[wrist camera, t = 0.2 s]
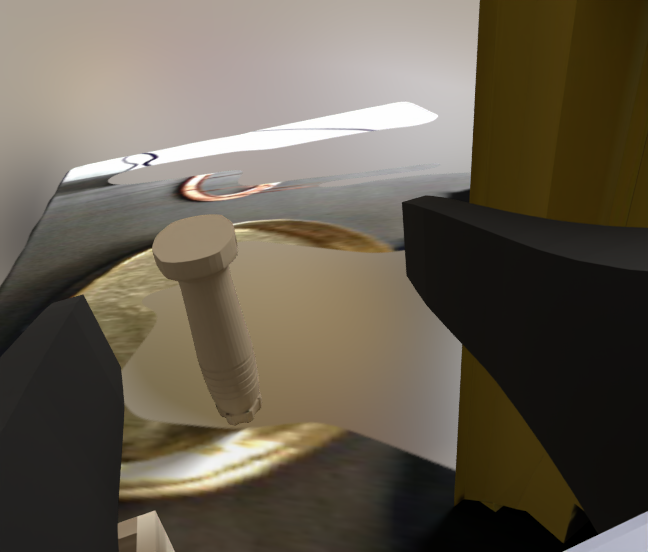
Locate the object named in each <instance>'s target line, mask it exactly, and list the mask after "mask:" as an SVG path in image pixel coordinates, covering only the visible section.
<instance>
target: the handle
mask: <svg viewBox="0 0 648 552" xmlns="http://www.w3.org/2000/svg"><path fill="white" fill-rule="evenodd" d="M152 251H153V255H154V258H155V261H156V264H157V266H158V268H159V269H160V271H161V272H162V274H163V275H164V276H165V277H166V278H168V279H171V280H175V281H178V282H179V285H180V288H181V291H182V296H183V300H184V303H185V308H186V312H187V316H188V320H189V324H190V328H191V332H192V337H193V341H194V346H195V350H196V354H197V358H198V362H199V365H200V368H201V371H202V374H203V377H204V380H205V382H206V384H207V387H208V390H209V392H210V394H211V396H212V398H213V400H214V402H215V404H216V407H217V409H218V412H219V413H220V415H221V416H222V417H225V418H227V421H228V423H229V424H231V425H237V424H239V423H243V422H247V423H249V422H251V421H252V420H253V419H254V415H255V413H256V412H257V411H258V410H260V408H261V406H262V399H261V393H260V392H259V377H258V371H257V365H256V359H255V354H254V350H253V345H252V341H251V338H250V335H249V332H248V329H247V325H246V323H245V319H244V316H243V313H242V310H241V306H240V303H239V300H238V297H237V293H236V290H235V286H234V283H233V280H232V277H231V272H230V268H229V264H230V263H231V262H232V261H233V260H234V259H235V258H236V256H237V253H238V249H237V240H236V235H235V230H234V227H233V224H232V222H231V221H230V220H228V219H227V218H225V217H223V216H222V215H213V214H211V215H200V216H194V217H189V218H185V219H181V220H179V221H176V222H173V223H171V224H170V225H168V226H167V227H166V228H165V229H164V230H162V231H161V232H160V233H159V234H158V235H157V236H156V238H155V240H154V243H153V247H152Z"/></svg>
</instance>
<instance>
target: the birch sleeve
mask: <svg viewBox="0 0 648 552" xmlns="http://www.w3.org/2000/svg"><path fill="white" fill-rule="evenodd" d="M118 545H119V552H175V551H174V549H173V547H172V545H171V543H170V541H169V539H168V536H167V534H166V532H165V530H164V528H163V526H162V524H161V522H160V519H159V517H158V515H157V513H156V511H153V512H150V513H147V514H144V515H141V516H138V517H135V518H132V519H129V520H126V521H123V522H120V523H118Z"/></svg>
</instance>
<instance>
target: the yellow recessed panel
mask: <svg viewBox="0 0 648 552" xmlns="http://www.w3.org/2000/svg"><path fill="white" fill-rule="evenodd" d="M477 49H478V50H477V67H476V86H475V107H474V126H473V146H472V166H471V184H470V203H472V204H476V205H481V206H485V207H490V208H494V209H499V210H504V211H509V212H514V213H519V214H524V215H529V216H535V217H541V218H547V219H553V220H560V221H567V222H575V223H585V224H595V225H605V226H620V227H644V228H648V0H480V9H479V28H478V48H477ZM458 421H459V422H458V441H457V459H456V478H455V498H454V506H455V505H457V504H458V503H459V502H461V501H462V500H464V499H468V500H475V501H480V502H481V503H483V504H484V505H486V506H487V507H489V508H490V509H492V510H493V511H495V512H496V511H497V510H499V509H500V508H501V507H503V506H507V507H511V508H515V509H519V510H523V511H527V512H528V513H529V514H530V515H531V516H533V517H534V518H535V519H536V520H537V521H538V522H539V523H541V524H542V525H543V526H544V527H545V528H546V529H547V530H549V531H550V532H551V533H552V534H553V535H554V536H556V537H557V538H558V539H559V540H560V541H561V542H562V543H565V542H566V541H567V540H568V539H569V538H570V537H571V536H573V535H574V534H575V533H576V532H577V531H578V530H579V529H580V528H582V527H583V526H584V525H585V524H586V523H587V522H588V521H589V518H588V517H587V515H586V513H585V512H584V510H583V508H582V507H581V505H580V503H579V502H578V500H577V498H576V497H575V495H574V494H573V492H572V490H571V489H570V487H569V486H568V484H567V483H566V481H565V480H564V478H563V477H562V475H561V474H560V472H559V470H558V469H557V467H556V466H555V464H554V463H553V461H552V460H551V458H550V457H549V455H548V454H547V452H546V450H545V449H544V448H543V446H542V445H541V443H540V442H539V440H538V439H537V438H536V436H535V435H534V433H533V432H532V430H531V429H530V427H529V426H528V425H527V423H526V422H525V420H524V419H523V417H522V416H521V415H520V413H519V412H518V411H517V409H516V408H515V406H514V405H513V404H512V402H511V401H510V400H509V398H508V397H507V396H506V394H505V393H504V392H503V390H502V389H501V388H500V386H499V385H498V384H497V382H496V381H495V380H494V379H493V377H492V376H491V375H490V374H489V373H488V372H487V370H486V369H485V368H484V367H483V366H482V365H481V364H480V363H479V361H478V360H477V359H476V358H475V357H474V356H473V355H472V354H471V353H470V352H469V351H468V350H467V349H466V348H465V346H464V345H463V344H462V362H461V381H460V402H459V420H458Z"/></svg>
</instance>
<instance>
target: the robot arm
mask: <svg viewBox="0 0 648 552" xmlns="http://www.w3.org/2000/svg"><path fill="white" fill-rule="evenodd" d="M402 210H403V226H404V242H405V257H406V272H407V277H408V278H409V280H410V281H411V283H412V284H413V286H414V287H415V289H416V290H417V292H418V294H419V295H420V296H421V298H422V299H423V301H424V302H425V304H426V305H427V306H428V307H429V308H430V310H431V311H432V312H433V313H434V314H435V315H436V316H437V317H438V318H439V320H441V322H442V323H443V324H444V325H445V326H446V327H447V328H448V329H449V330H450V331H451V333H453V335H455V337H456V338H457V339H458V340H459V341H460V342H461V343H462V344H463V345H464V346H465V348H466V349H467V350H468V351H469V352H470V353H471V354H472V355H473V356H474V357H475V358H476V359H477V360H478V361H479V363H480V364H481V365H482V366H483V367H484V368H485V369H486V370H487V372H488V373H489V374H490V375H491V376H492V377H493V379H494V380H495V381H496V382H497V384H498V385H499V386H500V388H501V389H502V390H503V392H504V393H505V394H506V396H507V397H508V398H509V400H510V401H511V402H512V404H513V405H514V406H515V408H516V409H517V411H518V412H519V413H520V415H521V416H522V417H523V419H524V420H525V422H526V423H527V425H528V426H529V427H530V429H531V430H532V432H533V433H534V435H535V436H536V438H537V439H538V440H539V442H540V443H541V445H542V446H543V448H544V449H545V450H546V452H547V454H548V455H549V457H550V458H551V460H552V461H553V463H554V464H555V466H556V467H557V469H558V470H559V472H560V474H561V475H562V477H563V478H564V480H565V481H566V483H567V484H568V486H569V487H570V489H571V490H572V492H573V494H574V495H575V497H576V498H577V500H578V502H579V503H580V505H581V507H582V508H583V510H584V512H585V513H586V515H587V517H588V518H589V520H590V521H591V523H592V525H593V526H594V528H595V530H596V531H597V533H598V535H597V536H595V537H593V538H591V539H589V540H586V541H584V542H582V543H580V544H578V545H576V546H574V547H572V548H570V549H568V550H566V551H563V552H648V228H644V227H620V226H605V225H595V224H585V223H575V222H567V221H560V220H553V219H547V218H541V217H535V216H529V215H524V214H519V213H514V212H509V211H504V210H499V209H494V208H490V207H485V206H481V205H476V204H472V203H467V202H463V201H458V200H453V199H448V198H443V197H436V196H422V197H419V198H415V199H412V200H408V201H405V202H402ZM123 425H124V395H123V385H122V375H121V367H120V365H119V363H118V361H117V359H116V357H115V355H114V353H113V351H112V349H111V347H110V345H109V343H108V342H107V340H106V338H105V336H104V334H103V332H102V330H101V328H100V326H99V324H98V322H97V320H96V318H95V316H94V314H93V312H92V310H91V309H90V307H89V305H88V303H87V301H86V299H85V297H84V295H80V296H76V297H73V298H69V299H66V300H62V301H59V302H55V303H52V304H51V305H50V306H49V307H47V308H46V309H45V310H44V311H43V312H42V313H41V314H40V315H39V316H38V317H37V318H36V319H35V320H34V322H33V323H32V324H31V325H30V326H29V327H28V328H27V329H26V330H25V331H24V332H23V333H22V335H21V336H20V337H19V338H18V339H17V340H16V341H15V342H14V343H13V344H12V345H11V347H10V348H9V349H8V350H7V351H6V352H5V353H4V354H3V355H2V356H1V357H0V552H119V545H118V499H119V485H120V470H121V456H122V441H123Z"/></svg>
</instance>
